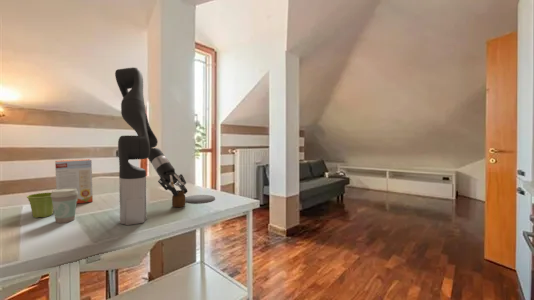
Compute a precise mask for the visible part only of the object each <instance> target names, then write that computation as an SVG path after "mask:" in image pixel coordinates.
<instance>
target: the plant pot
mask: <svg viewBox="0 0 534 300" xmlns="http://www.w3.org/2000/svg"><path fill="white" fill-rule="evenodd" d="M51 193H52V192H41V193H39V192H38V193H34V194H30V195H26V198H27V199H28V200H27V201H28V202H29V206H30V209H31V213H32V218H46V217H50V216H52V215H53V214H54V209H53V203H52V197H50V196H51Z"/></svg>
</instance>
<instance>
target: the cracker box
mask: <svg viewBox="0 0 534 300" xmlns="http://www.w3.org/2000/svg"><path fill="white" fill-rule="evenodd" d="M54 163H55V165H54V166H55V190H56V189H63V188H76V189H77V191H78V194H77V202H76V205H77V204H83V203H93V201H94V199H93V197H94V196H93V195H94V194H93V168H92V164H93V163H92V159H90V158H89V159H65V160H55V162H54Z"/></svg>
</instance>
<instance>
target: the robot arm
mask: <svg viewBox="0 0 534 300" xmlns="http://www.w3.org/2000/svg"><path fill="white" fill-rule="evenodd" d="M114 75H115V81H116V84H117V87H118V88H119V91H120V93H121V96H122V100H121V103H120V109H121V110H120V114H121V117H122V118H123V120H124V121H125V122H126V124H128V126H130V128H131V129H133V130H134V131H135V133H136V134H137V135H121V136H119V138H118V140H117V141H118V142H117V150H118V151H117V152H118V163H119V168H118V169H119V173H118V174H119V177H118V178H119V185H118V186H119V223H120V224H121V225H125V226H130V225H137V224H138V225H139V224H143V223H145V222H146V221H147V171H146V169H145V168H142V167H138V166H135V165H133V164H131V163H130V162H129V160H130V161H131V160H146V159H148V161H149V162H150V164H151V166H152V167H153V170H155V172H156V174H157V175H158V176H159V179H158V181H157V182H158V183H159V184H160V186H161V187H162V188H163V189H164V190H165V191H169V192H170V193H171V194H172V196H173V195H174V196H177V195H178V192H177V189H176V187H175V186H178V187H179V189H180V190H184V192H185V194H188V188H187V187H186V184H187V182H186V180H185V177H184V175H183V174H182V173H181V174H177V173H176V171H175V170H176V169H175V168H174V167H173V165H172V164H171V162H170V161H169V160H168V158H167V157H166V156H165V154H164V153H163V151H162V150H161V149H160V148H159V147H157V145H158V138H157V137H156V135H155V133H154V132H153V130H152V128H151V125H150V123H149V118H148V115H147V112H146V105H145V96H144V78H143V73H142V71H141V70H140V68H138V67H125V68H119V69H116V70H115V73H114ZM172 182H173V184H174V186H173V184H172ZM182 183H183V184H182ZM180 185H181V186H180ZM173 187H174V188H173ZM181 187H182V188H181ZM184 188H185V189H184ZM185 194H184V195H185Z"/></svg>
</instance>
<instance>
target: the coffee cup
mask: <svg viewBox="0 0 534 300" xmlns="http://www.w3.org/2000/svg"><path fill="white" fill-rule="evenodd" d="M50 193H51V196H50V197H52V203H53V214H54V219H55V223H57V224H64V223H70V222H73V221H75V217H76V210H77V204H76V202H77V194H78V191H77V189H76V188H63V189H56V188H55V189H53V190H52V191H51V192H50Z"/></svg>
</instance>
